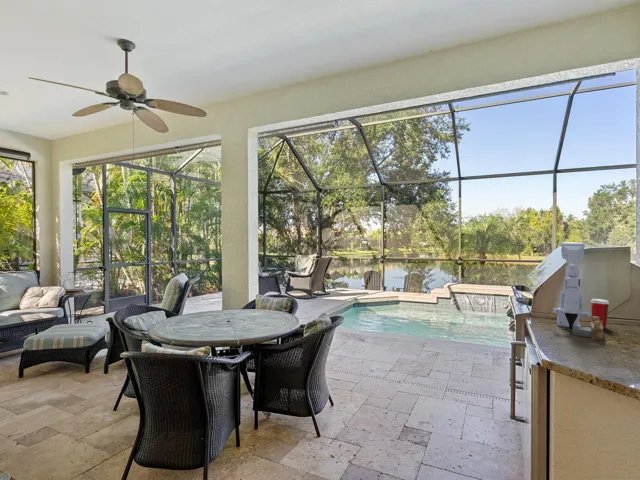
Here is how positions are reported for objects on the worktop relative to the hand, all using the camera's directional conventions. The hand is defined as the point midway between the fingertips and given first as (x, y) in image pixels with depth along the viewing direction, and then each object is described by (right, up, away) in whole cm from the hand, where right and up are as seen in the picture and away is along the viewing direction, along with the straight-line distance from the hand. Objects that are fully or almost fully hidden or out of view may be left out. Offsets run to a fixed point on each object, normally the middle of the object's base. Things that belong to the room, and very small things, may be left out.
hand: (570, 329), depth 171 cm
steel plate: (+3, -2, -3) cm, 5 cm away
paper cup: (+23, -2, +12) cm, 26 cm away
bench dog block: (+8, -2, -6) cm, 10 cm away
